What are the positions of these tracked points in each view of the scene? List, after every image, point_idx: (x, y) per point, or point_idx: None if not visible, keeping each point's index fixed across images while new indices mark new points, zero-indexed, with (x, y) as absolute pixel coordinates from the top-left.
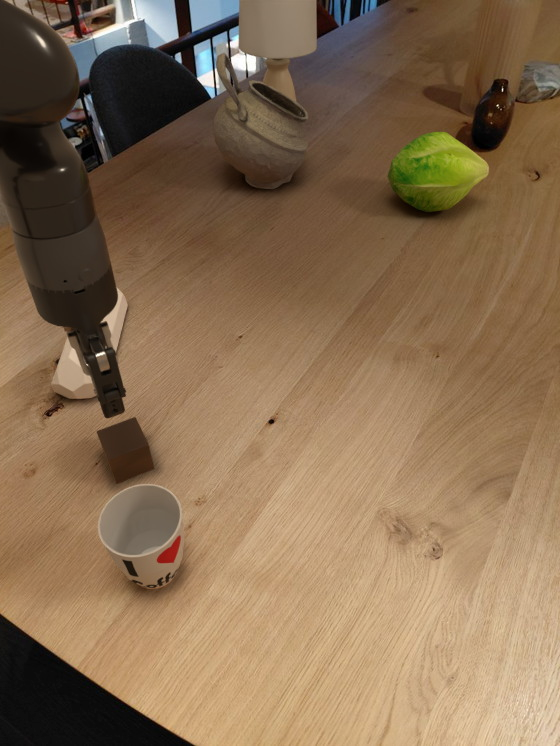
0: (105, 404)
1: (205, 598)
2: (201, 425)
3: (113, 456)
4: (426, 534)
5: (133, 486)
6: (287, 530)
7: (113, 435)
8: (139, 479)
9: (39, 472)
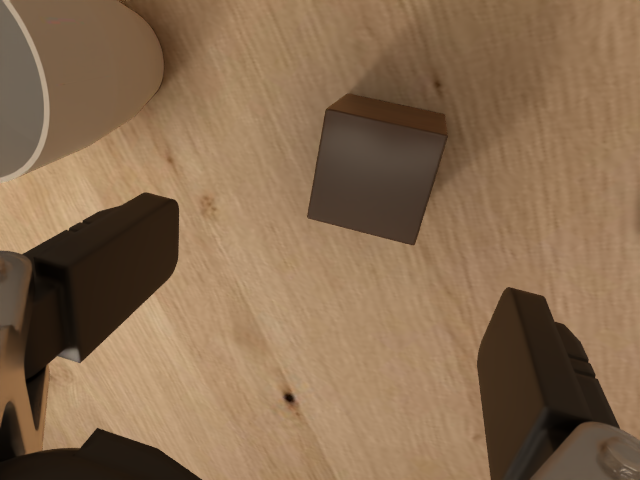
0: (51, 242)
1: None
2: (366, 317)
3: (325, 127)
4: None
5: (46, 112)
6: None
7: (395, 165)
8: None
9: None
